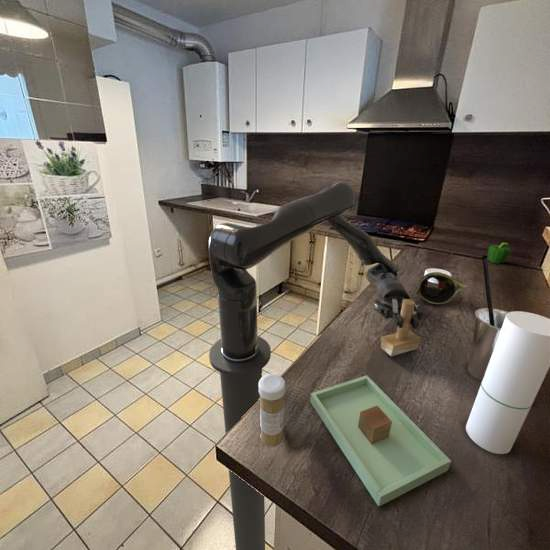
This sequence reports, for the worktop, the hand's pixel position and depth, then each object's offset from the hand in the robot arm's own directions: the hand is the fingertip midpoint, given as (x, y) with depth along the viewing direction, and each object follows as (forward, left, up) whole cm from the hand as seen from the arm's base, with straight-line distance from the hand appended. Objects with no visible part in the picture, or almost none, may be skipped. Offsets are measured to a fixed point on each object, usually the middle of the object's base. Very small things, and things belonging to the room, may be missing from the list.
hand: (408, 325), depth 71 cm
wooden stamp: (-2, +1, -9) cm, 9 cm away
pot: (-22, +37, -10) cm, 44 cm away
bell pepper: (-39, +97, -10) cm, 105 cm away
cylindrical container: (+23, -1, -10) cm, 26 cm away
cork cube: (+15, -21, -10) cm, 28 cm away
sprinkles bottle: (+8, -39, -10) cm, 42 cm away
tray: (+14, -21, -10) cm, 28 cm away
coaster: (-34, +52, -10) cm, 62 cm away
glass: (+11, +14, -10) cm, 21 cm away
